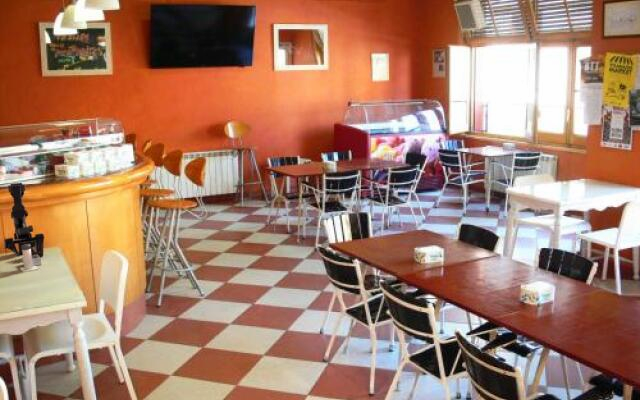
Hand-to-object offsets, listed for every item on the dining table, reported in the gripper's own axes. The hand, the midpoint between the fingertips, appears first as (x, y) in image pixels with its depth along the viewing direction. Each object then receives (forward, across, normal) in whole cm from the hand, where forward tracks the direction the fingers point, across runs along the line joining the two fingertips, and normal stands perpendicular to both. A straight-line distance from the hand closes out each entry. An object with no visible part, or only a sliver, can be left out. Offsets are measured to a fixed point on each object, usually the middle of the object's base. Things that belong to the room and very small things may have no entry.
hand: (27, 254), depth 337 cm
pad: (+5, 0, +7) cm, 8 cm away
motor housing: (-1, +3, +12) cm, 13 cm away
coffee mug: (-12, +7, +23) cm, 27 cm away
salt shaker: (+4, 0, +6) cm, 8 cm away
